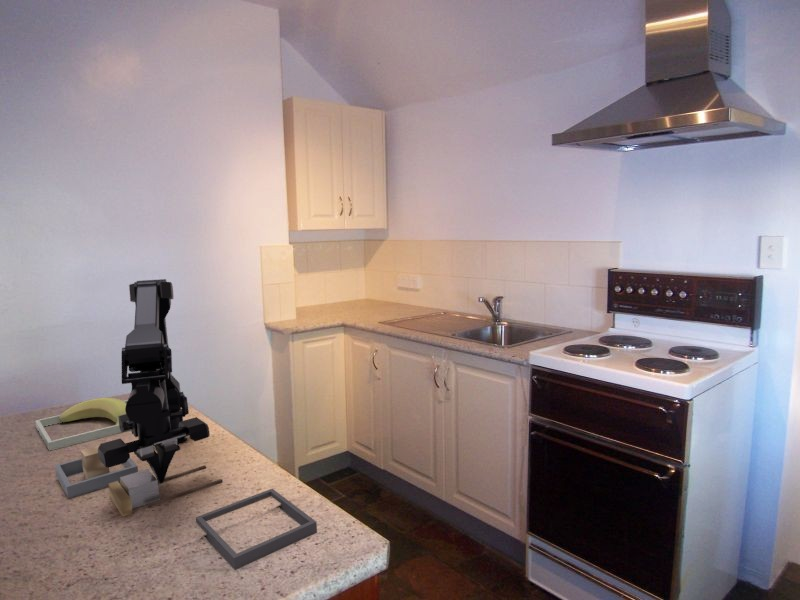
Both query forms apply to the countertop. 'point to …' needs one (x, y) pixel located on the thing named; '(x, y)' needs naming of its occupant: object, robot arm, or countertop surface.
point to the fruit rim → (75, 438)
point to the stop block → (92, 463)
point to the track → (125, 506)
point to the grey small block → (141, 488)
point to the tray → (92, 483)
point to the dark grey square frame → (265, 547)
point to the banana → (95, 410)
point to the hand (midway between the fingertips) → (160, 482)
